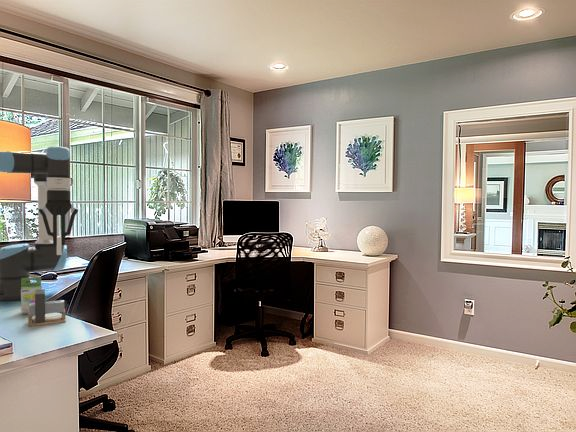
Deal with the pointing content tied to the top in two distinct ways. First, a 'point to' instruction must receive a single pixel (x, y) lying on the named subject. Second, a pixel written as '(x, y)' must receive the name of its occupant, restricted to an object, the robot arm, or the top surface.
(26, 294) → the ink box
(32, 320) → the board
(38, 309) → the grey upright block
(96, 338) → the top surface
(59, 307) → the pipe
